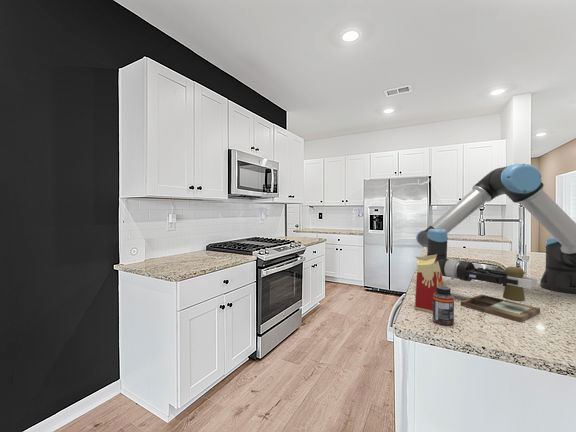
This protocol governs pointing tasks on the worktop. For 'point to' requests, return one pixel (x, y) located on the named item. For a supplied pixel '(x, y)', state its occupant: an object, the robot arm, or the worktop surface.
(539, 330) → the worktop surface
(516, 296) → the cork
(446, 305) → the supplement bottle
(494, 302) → the board
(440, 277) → the milk carton
